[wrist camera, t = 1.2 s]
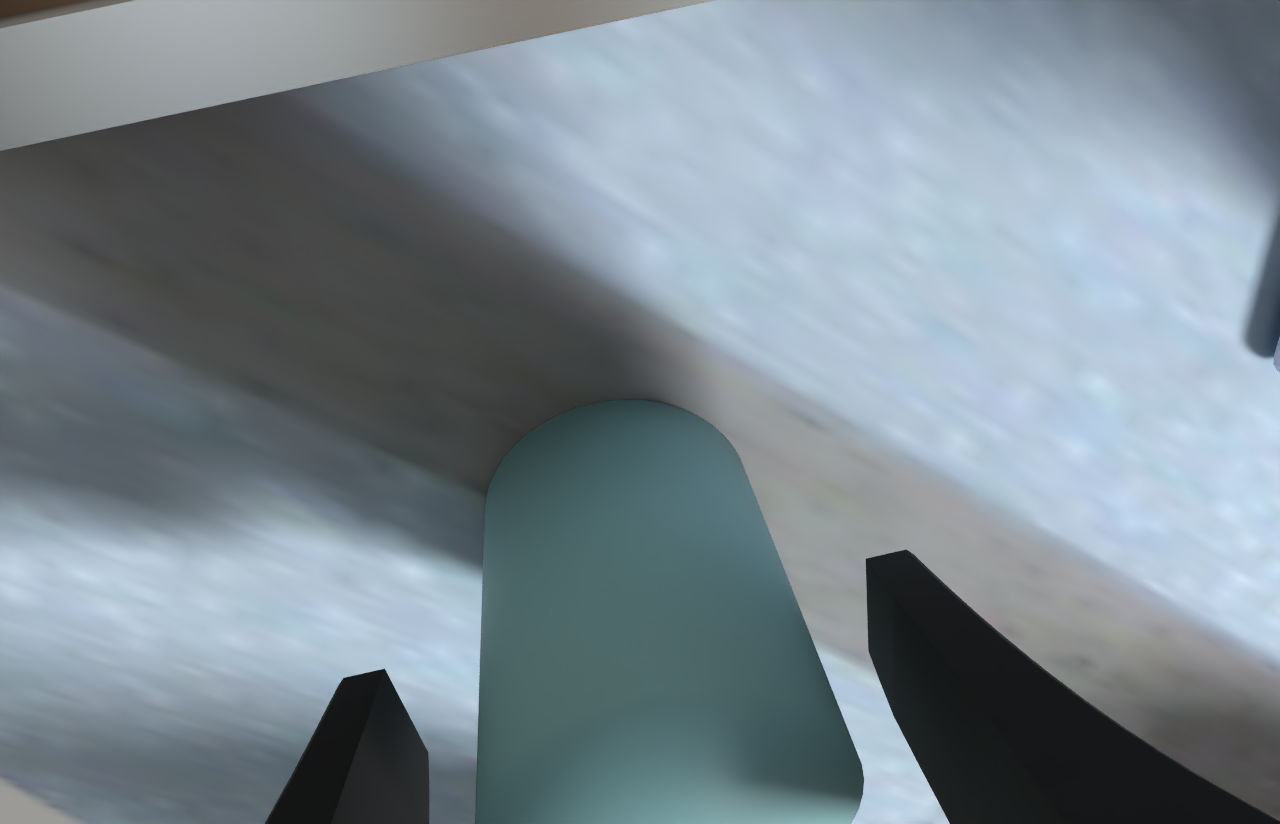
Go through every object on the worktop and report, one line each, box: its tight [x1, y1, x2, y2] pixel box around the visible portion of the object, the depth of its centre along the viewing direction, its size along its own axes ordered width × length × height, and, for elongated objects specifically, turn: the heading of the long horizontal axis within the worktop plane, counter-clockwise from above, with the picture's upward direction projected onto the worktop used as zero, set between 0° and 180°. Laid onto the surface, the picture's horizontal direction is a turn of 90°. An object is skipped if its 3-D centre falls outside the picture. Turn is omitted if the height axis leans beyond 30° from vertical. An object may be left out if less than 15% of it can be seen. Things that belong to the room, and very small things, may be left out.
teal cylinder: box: [475, 399, 864, 824], centre depth 13 cm, size 5×5×6 cm
